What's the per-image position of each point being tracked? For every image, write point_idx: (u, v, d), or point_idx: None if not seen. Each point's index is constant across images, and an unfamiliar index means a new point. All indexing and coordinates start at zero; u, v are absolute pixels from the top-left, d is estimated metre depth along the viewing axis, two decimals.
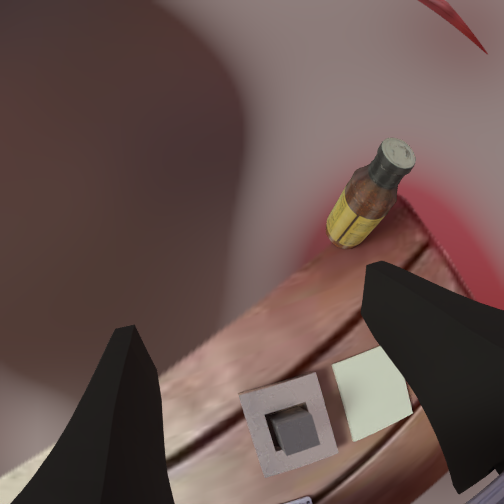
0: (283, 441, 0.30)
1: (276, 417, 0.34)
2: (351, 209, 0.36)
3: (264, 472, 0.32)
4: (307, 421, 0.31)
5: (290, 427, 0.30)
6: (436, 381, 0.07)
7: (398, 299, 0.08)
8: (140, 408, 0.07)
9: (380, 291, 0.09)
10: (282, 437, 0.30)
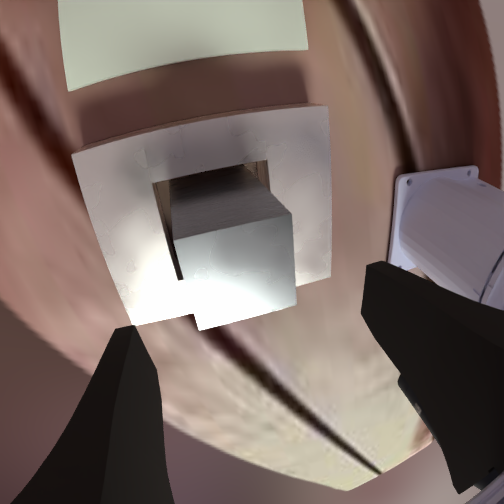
0: (250, 314, 0.12)
1: None
2: None
3: (318, 278, 0.19)
4: (197, 254, 0.10)
5: (210, 300, 0.11)
6: (436, 381, 0.07)
7: (398, 299, 0.08)
8: (140, 408, 0.07)
9: (380, 291, 0.09)
10: (237, 317, 0.12)
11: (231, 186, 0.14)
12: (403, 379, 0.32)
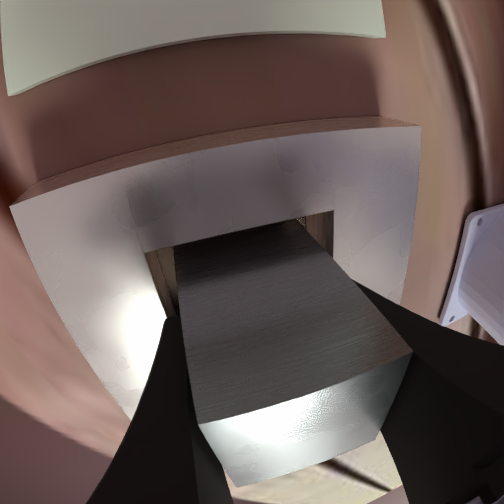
0: (312, 463, 0.07)
1: None
2: None
3: None
4: (243, 432, 0.05)
5: (257, 466, 0.06)
6: None
7: None
8: None
9: None
10: (294, 469, 0.07)
11: (282, 262, 0.08)
12: None
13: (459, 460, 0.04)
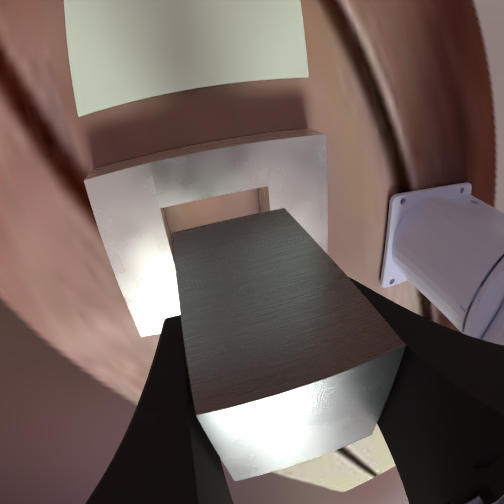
0: (310, 458, 0.07)
1: None
2: None
3: None
4: (240, 424, 0.05)
5: (254, 459, 0.06)
6: (391, 406, 0.06)
7: None
8: None
9: None
10: (291, 463, 0.07)
11: (279, 259, 0.08)
12: None
13: (459, 460, 0.04)
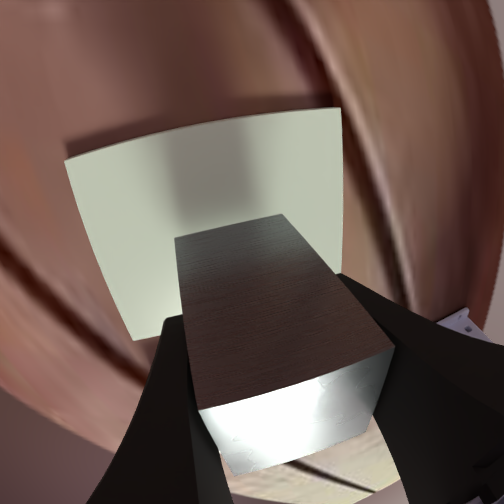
0: (306, 454, 0.07)
1: None
2: None
3: None
4: (239, 419, 0.06)
5: (253, 454, 0.07)
6: (390, 406, 0.06)
7: None
8: None
9: None
10: (288, 459, 0.07)
11: (276, 264, 0.09)
12: None
13: (459, 460, 0.04)
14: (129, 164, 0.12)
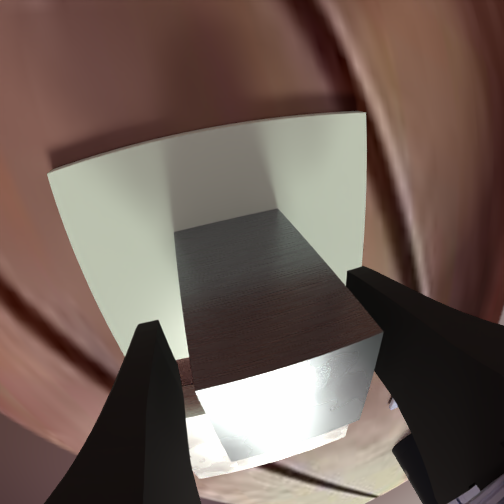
0: (301, 440, 0.08)
1: None
2: None
3: (336, 439, 0.21)
4: (235, 401, 0.06)
5: (249, 439, 0.07)
6: (416, 392, 0.07)
7: (378, 307, 0.08)
8: (167, 403, 0.07)
9: (360, 298, 0.09)
10: (284, 445, 0.08)
11: (271, 256, 0.09)
12: (396, 450, 0.35)
13: (487, 438, 0.04)
14: (122, 177, 0.10)
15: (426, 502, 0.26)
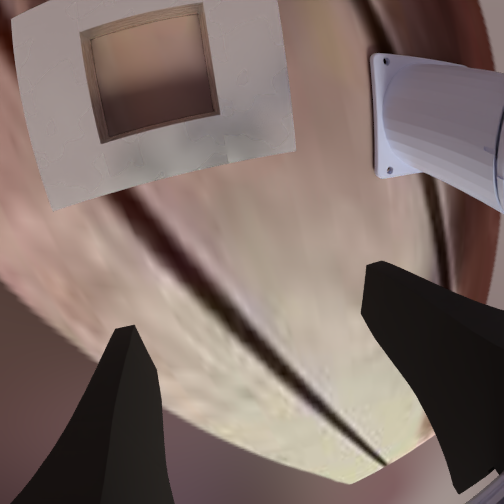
0: None
1: None
2: None
3: (280, 150, 0.14)
4: None
5: None
6: (436, 381, 0.07)
7: (398, 299, 0.08)
8: (140, 408, 0.07)
9: (380, 291, 0.09)
10: None
11: None
12: None
13: None
14: None
15: None
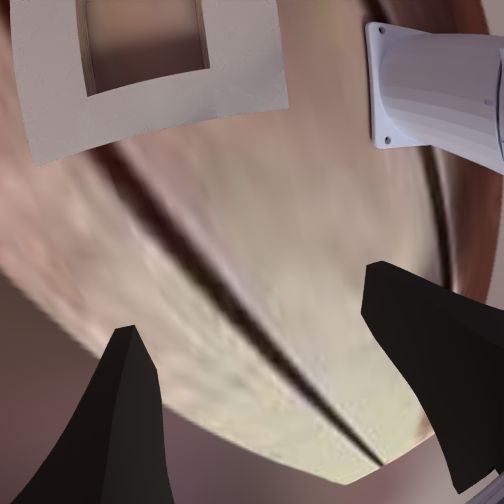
0: None
1: None
2: None
3: (271, 106, 0.13)
4: None
5: None
6: (436, 381, 0.07)
7: (398, 299, 0.08)
8: (140, 408, 0.07)
9: (380, 291, 0.09)
10: None
11: None
12: None
13: None
14: None
15: None
